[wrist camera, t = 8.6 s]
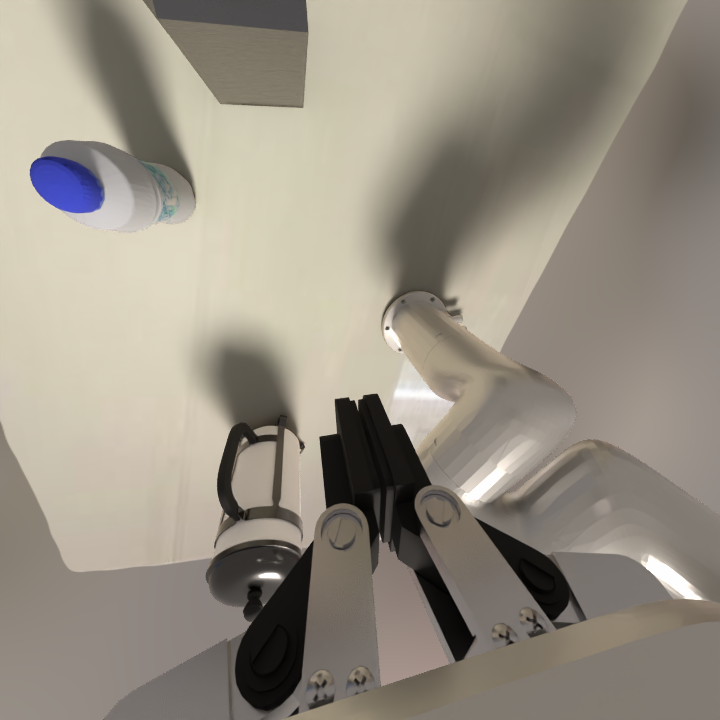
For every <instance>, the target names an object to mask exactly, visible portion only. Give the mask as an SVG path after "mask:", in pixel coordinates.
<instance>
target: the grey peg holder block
mask: <svg viewBox="0 0 720 720" xmlns="http://www.w3.org/2000/svg"><path fill="white" fill-rule="evenodd" d="M143 1H144V2H145V4H146V5H147V6H148V8H149V9H150V10H151V12H152V13H153V14H154V16H155V17H156V18H157V20H158V21H159V22H160V24H161V25H162V26H163V28H164V29H165V30H166V32H167V33H168V34H169V35H170V37H171V38H172V39H173V41H174V42H175V43H176V45H177V46H178V47H179V49H180V50H181V51H182V53H183V54H184V55H185V57H186V58H187V59H188V61H189V62H190V63H191V65H192V66H193V68H194V69H195V70H196V72H197V73H198V74H199V76H200V77H201V78H202V80H203V81H204V82H205V84H206V85H207V86H208V88H209V89H210V90H211V92H212V93H213V94H214V96H215V97H216V99H217V100H218V101H219V103H220V104H232V105H254V106H275V107H297V108H303V102H304V88H305V73H306V59H307V44H308V22H307V8H306V0H143Z"/></svg>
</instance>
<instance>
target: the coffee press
mask: <svg viewBox="0 0 720 720" xmlns="http://www.w3.org/2000/svg"><path fill="white" fill-rule="evenodd" d="M286 420H287V416H283V415H280V417H279V419H278V423H277V426H265V427H261V428H258V429H255V430H252V429H251V428H250V427H249V426H248V425H247V424H246V423H239V424H236V425H234V426H233V427H232V429H231V431H230V433H229V436H228V439H227V443H226V446H225V449H224V453H223V456H222V460H221V463H220V467H219V472H218V479H217V491H218V497H219V501H220V504H221V506H222V508H223V511H222V515H221V519H220V524H219V528H218V532H217V536H216V540H215V545H214V548H215V552H214V556H213V559H212V560H211V562H210V563H209V566H208V568H207V572H206V580H207V583H208V584H209V588H210V592H211V594H212V595H213V597H214V598H215V599H216V600H218V601H219V602H221V603H223V604H225V605H228V606H233V607H245V608H244V610H243V613H244V617H245V619H246V620H247V621H249V622H253V621H254V619H255V618H256V617H257V615H258V614H259V613H260V611H261V610H262V609H263V606H262V605H263V604H266V603H267V602H268V601H269V599H270V598H271V597H272V595H273V594H274V593H275V591H276V590H277V589H278V587H279V586H280V585H281V583H282V582H283V580H284V579H285V578H286V576H287V575H288V574H289V572H290V571H291V570H292V568H293V567H294V566H295V564H296V563H297V562H298V560H299V559H300V558H301V556H302V555H303V552H302V550H301V542H302V538H303V527H302V520H301V491H300V454H301V453H302V452H303V450H304V448H305V446H304V445H303V444H299V441H298V439H297V437H296V436H295V435H294V434H293V433H292V432H291V431H289V430H288V429H285V424H286ZM241 437H242V438H243V440H242V442H241V440H240V438H241ZM240 443H241V444H240ZM300 449H301V451H300Z"/></svg>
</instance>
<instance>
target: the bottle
mask: <svg viewBox="0 0 720 720" xmlns="http://www.w3.org/2000/svg"><path fill="white" fill-rule="evenodd" d="M30 178H31V181H32V184H33V186H34V187H35V189H36V191H37V192H38V193H39V194H40V196H41V197H43V198H44V199H45V200H46V201H47V202H48V203H50V204H51V205H53V206H55V207H56V208H58V209H60V210H61V211H63V212H64V213H65V214H66V215H68V216H69V217H70V218H72V219H73V220H75V221H77V222H79V223H80V224H82V225H85V226H87V227H90V228H94V229H97V230H106V231H115V232H120V233H133V232H137V231H141V230H144V229H147V228H149V227H151V226H152V225H156V224H178V223H181V222H185V221H186V220H188V219H189V217H190V216H191V215H192V213H193V211H194V210H195V207H196V202H195V199H194V195H193V192H192V188H191V186H190V184H189V182H188V181H187V180H186V179H184V178H183V177H182V176H181V175H180V174H179V173H178V172H176V171H175V170H174V169H172V168H170V167H168V166H165V165H162V164H158V163H152V162H145V161H142V160H139V159H135V158H134V157H132V156H131V155H129V154H128V153H126V152H124V151H122V150H120V149H117V148H115V147H113V146H111V145H108V144H105V143H101V142H94V141H73V140H65V141H59V142H55V143H53V144H51V145H50V146H48V147H47V148H46V149H45V150H44V152H43V153H42V155H41V157H40V158H38V159H37V160H35V161H34V162H33V163H32V165H31V168H30Z"/></svg>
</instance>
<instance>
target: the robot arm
mask: <svg viewBox="0 0 720 720" xmlns="http://www.w3.org/2000/svg"><path fill="white" fill-rule="evenodd" d="M402 300H403V301H402ZM401 301H402V302H401ZM462 321H463V317H462V315H457V316H451V315H449V314H448V313H447V312H446V309H445V307H444V304H443V303H442V302H441V300H440V299H439V298H437V297H436V296H435V295H433V294H431V293H429V292H426V291H413V292H409V293H406V294H404V295H402V296H400V297H399V298H397V299H396V300H395V301H394V302H393V303H392V304H391V305H390V306H389V308H388V309H387V311H386V313H385V315H384V318H383V321H382V334H383V337H384V340H385V341H386V343H387V344H388V346H389V347H390V348H391V349H392V350H394V351H395V352H397V353H400V354H404V355H406V356H407V358H408V359H409V361H410V362H411V363H412V365H413V366H414V367H415V369H416V370H417V371H418V373H419V374H420V376H421V377H422V378H423V380H424V381H425V382H426V384H427V385H428V386H429V388H430V389H431V390H432V391H433V392H434V393H435V394H436V395H438V396H439V397H441V398H443V399H445V400H448V401H452V402H455V404H454V405H453V406H452V407H451V408H450V409H449V411H448V412H447V414H446V415H445V416H444V417H443V418H442V419H441V420H440V421H439V423H438V424H437V425H436V426H435V427H434V428H433V429H432V430H431V432H430V433H429V434H428V435H427V436H426V438H425V439H424V440H423V441H422V442H421V444H420V445H419V447H418V448H417V450H416V451H415V449H414V447H413V445H412V443H411V441H410V439H409V436H408V434H407V432H406V430H405V428H404V427H403V425H402V424H397V425H391V424H390V421H389V419H388V417H387V414H386V412H385V410H384V407H383V405H382V403H381V400H380V398H379V396H378V394H370V395H364V396H363V399H361V400H358V409H357V406H356V403H355V400H353V401H350V399H349V397H348V398H340V399H335V411H336V424H337V434H333V435H327V436H321V437H319V438H320V449H321V459H322V469H323V479H324V489H325V499H326V510H325V511H324V512H323V513H322V514H321V516H320V517H319V519H318V521H317V523H316V527H315V533H314V540H313V542H312V543H311V544H310V546H309V547H308V548H307V550H306V551H305V553H304V554H303V555H302V556H301V558H300V559H299V560H298V562H297V563H296V564H295V566H294V567H293V568H292V570H291V571H290V572H289V574H288V575H287V576H286V578H285V579H284V580H283V582H282V583H281V585H280V586H279V587H278V589H277V590H276V591H275V593H274V594H273V595H272V597H271V598H270V599H269V601H268V602H267V603H266V605H265V606H264V607H263V609H262V610H261V611H260V613H259V614H258V615H257V617H256V618H255V619H254V621H253V622H252V623H251V625H250V626H249V628H248V629H247V631H245V632H244V633H242V634H240V635H238V636H237V637H235V638H233V639H231V640H229V641H228V639H225V640H223V641H221V642H219V643H218V644H216V645H214V646H212V647H210V648H209V649H207V650H205V651H203V652H201V653H200V654H198V655H196V656H194V657H193V658H191V659H189V660H187V661H185V662H184V663H182V664H180V665H178V666H176V667H175V668H173V669H171V670H169V671H167V672H166V673H164V674H162V675H160V676H158V677H157V678H155V679H153V680H151V681H149V682H148V683H146V684H144V685H142V686H140V687H139V688H137V689H135V690H133V691H132V692H131V693H129V694H128V695H127V696H125V697H124V698H123V699H121V700H120V701H119V702H118V703H117V704H116V705H115V706H114V707H113V708H112V710H111V711H110V712H109V713H108V714H107V716H106V717H105V718H104V719H103V720H720V515H718V514H717V513H716V512H714V511H713V510H711V509H710V508H708V507H707V506H706V505H704V504H703V503H701V502H700V501H698V500H697V499H695V498H694V497H693V496H691V495H690V494H688V493H687V492H686V491H684V490H683V489H681V488H680V487H678V486H677V485H675V484H674V483H672V482H671V481H670V480H668V479H667V478H665V477H664V476H662V475H661V474H659V473H658V472H657V471H655V470H653V469H652V468H651V467H649V466H648V465H646V464H645V463H643V462H642V461H640V460H639V459H637V458H636V457H634V456H632V455H631V454H629V453H627V452H625V451H624V450H622V449H620V448H619V447H617V446H614V445H612V444H610V443H608V442H604V441H600V440H590V439H588V440H583V441H580V442H578V443H576V444H573V445H572V446H570V447H569V448H567V449H565V450H564V451H563V452H562V453H560V454H559V455H558V456H556V457H555V458H554V459H553V460H552V461H550V462H549V463H548V464H547V465H546V466H544V467H543V468H542V469H541V470H540V471H539V472H537V473H536V474H535V475H534V476H533V477H532V478H531V479H529V480H528V481H527V482H526V483H525V484H523V485H522V486H521V487H520V488H519V489H518V490H516V491H514V492H510V491H508V490H509V489H510V488H512V487H513V486H514V485H515V484H516V483H517V482H518V481H519V480H521V479H522V478H523V477H525V476H526V475H527V474H528V473H529V472H531V471H532V470H533V469H534V468H535V467H536V466H537V465H539V464H540V463H541V462H542V461H543V460H544V459H545V458H546V457H548V456H549V455H550V454H551V453H552V452H553V451H555V450H556V449H557V447H558V446H559V445H560V444H561V443H562V442H563V441H564V440H565V438H566V437H567V436H568V435H569V433H570V431H571V430H572V428H573V425H574V423H575V420H576V407H575V404H574V402H573V399H572V398H571V396H570V395H569V394H568V393H567V391H566V390H565V389H564V388H563V387H561V386H560V385H559V384H557V383H556V382H555V381H553V380H552V379H550V378H548V377H547V376H545V375H543V374H541V373H539V372H537V371H535V370H533V369H531V368H529V367H527V366H524V365H523V364H520V363H518V362H516V361H514V360H512V359H510V358H508V357H506V356H505V355H503V354H501V353H499V352H498V351H496V350H495V349H493V348H492V347H490V346H489V345H487V344H486V343H484V342H483V341H482V340H480V339H479V338H477V337H476V336H475V335H473V334H472V333H471V332H469V331H468V330H467V328H466V326H461V325H459V324H458V323H461V322H462ZM386 326H387V327H386ZM385 327H386V328H385ZM398 348H399V349H398ZM379 532H380V536H381V539H382V542H383V543H385V542H388V544H389V547H390V551H391V552H393V551H396V554H397V557H398V559H399V560H400V561H402V562H403V563H405V564H406V565H407V567H408V571H409V573H410V575H411V578H412V580H413V582H414V584H415V586H416V589H417V591H418V594H419V596H420V598H421V600H422V603H423V604H424V607H425V609H426V612H427V614H428V616H429V618H430V621H431V623H432V625H433V627H434V630H435V632H436V634H437V636H438V638H439V641H440V643H441V645H442V647H443V650H444V652H445V654H446V657H447V659H448V661H449V663H450V664H449V665H446V666H443V667H440V668H437V669H434V670H430V671H427V672H424V673H421V674H419V675H415V676H412V677H409V678H406V679H403V680H400V681H397V682H394V683H391V684H388V685H385V686H382V687H381V682H380V669H379V658H378V657H379V656H378V644H377V631H376V618H375V606H374V593H373V579H372V575H373V572H374V570H375V569H376V567H377V565H378V553H379Z"/></svg>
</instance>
